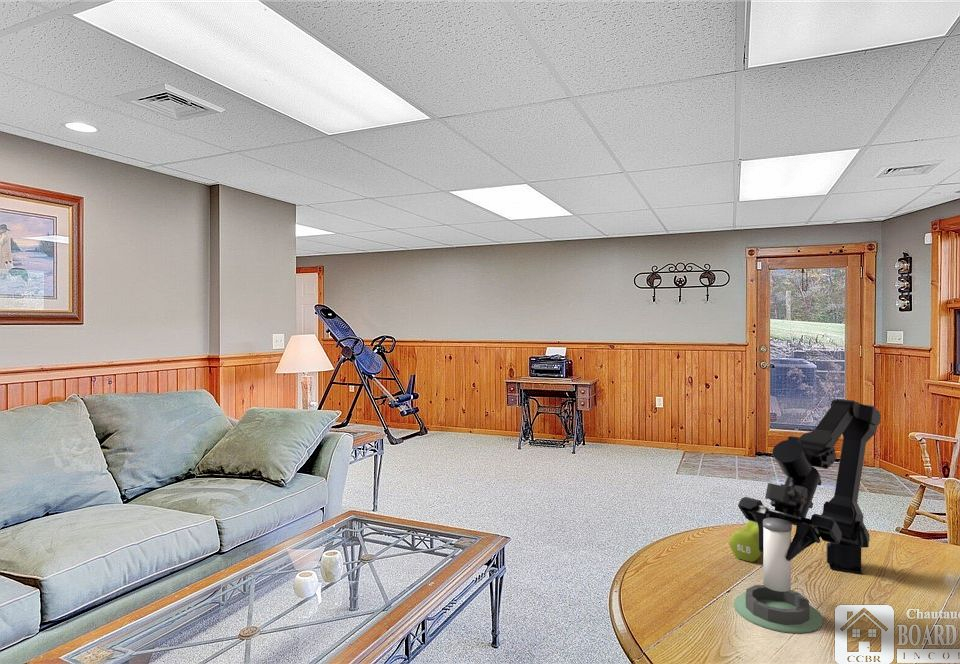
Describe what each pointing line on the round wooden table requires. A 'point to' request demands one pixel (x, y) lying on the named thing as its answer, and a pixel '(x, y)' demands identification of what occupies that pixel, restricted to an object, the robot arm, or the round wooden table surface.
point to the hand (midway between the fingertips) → (773, 555)
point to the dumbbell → (746, 542)
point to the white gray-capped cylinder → (776, 554)
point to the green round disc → (778, 610)
